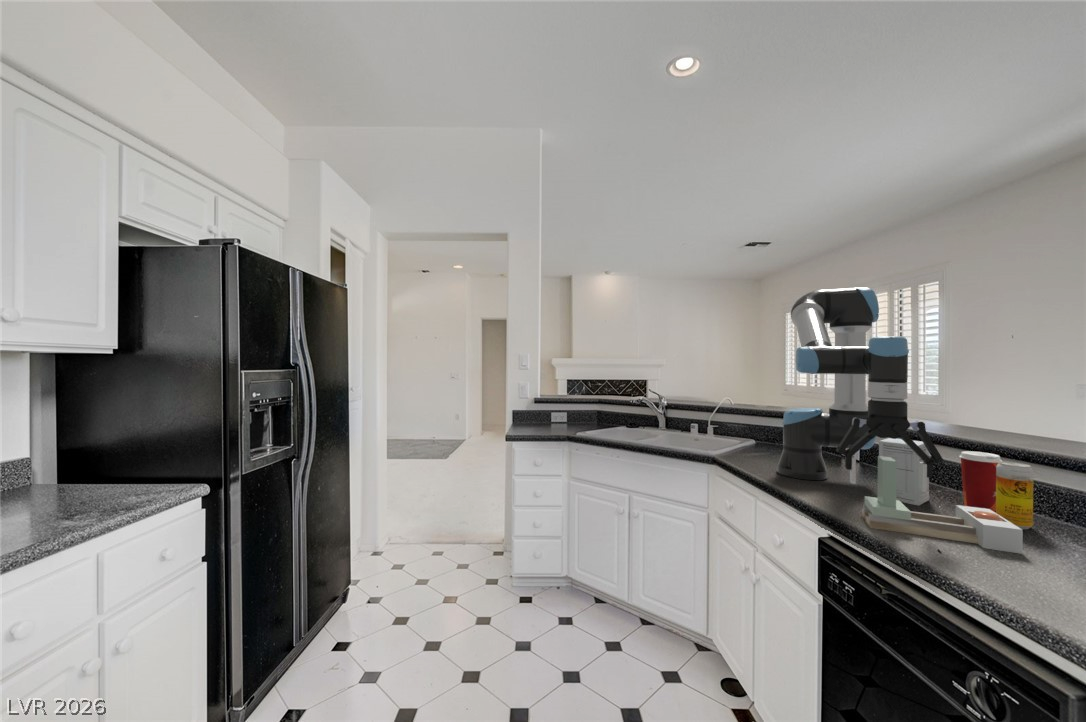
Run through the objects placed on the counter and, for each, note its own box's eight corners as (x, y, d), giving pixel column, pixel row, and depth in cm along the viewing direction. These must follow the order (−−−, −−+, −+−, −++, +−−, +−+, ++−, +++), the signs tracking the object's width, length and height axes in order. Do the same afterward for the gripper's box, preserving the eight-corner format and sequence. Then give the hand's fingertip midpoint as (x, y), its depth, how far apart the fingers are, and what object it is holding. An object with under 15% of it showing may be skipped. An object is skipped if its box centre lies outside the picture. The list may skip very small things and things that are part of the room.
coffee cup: (1011, 515, 111) (1011, 457, 111) (974, 512, 112) (974, 456, 112) (985, 504, 119) (985, 451, 119) (950, 502, 121) (950, 449, 121)
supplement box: (930, 500, 122) (930, 442, 122) (919, 506, 117) (920, 445, 117) (889, 491, 130) (889, 437, 130) (877, 497, 125) (878, 440, 125)
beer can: (1006, 528, 102) (1006, 465, 102) (989, 519, 108) (990, 460, 108) (1039, 531, 100) (1040, 468, 100) (1021, 522, 106) (1022, 462, 106)
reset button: (970, 527, 99) (970, 509, 99) (994, 530, 97) (994, 512, 97) (978, 533, 95) (978, 515, 95) (1003, 536, 93) (1003, 518, 93)
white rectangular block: (955, 525, 104) (955, 505, 104) (989, 530, 101) (989, 509, 101) (983, 548, 91) (983, 524, 91) (1022, 553, 88) (1022, 529, 88)
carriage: (864, 503, 110) (864, 453, 110) (898, 508, 106) (899, 456, 106) (873, 515, 101) (873, 460, 101) (910, 520, 98) (911, 464, 98)
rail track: (862, 515, 110) (862, 504, 110) (960, 529, 101) (960, 516, 101) (870, 527, 102) (870, 515, 102) (977, 543, 93) (977, 529, 93)
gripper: (828, 398, 106) (828, 483, 106) (962, 403, 95) (961, 498, 95) (824, 396, 113) (823, 476, 113) (948, 401, 102) (947, 489, 102)
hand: (886, 486), depth 104 cm, fingers open, 13 cm apart
